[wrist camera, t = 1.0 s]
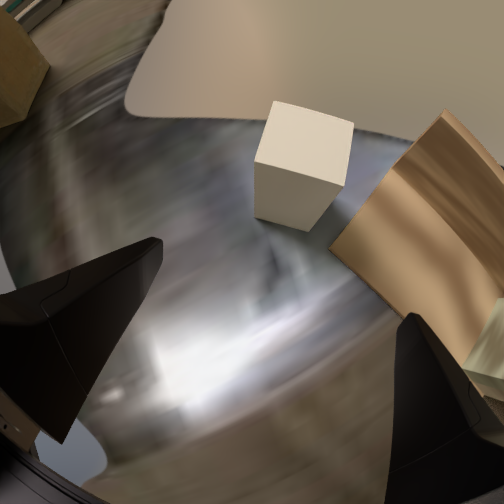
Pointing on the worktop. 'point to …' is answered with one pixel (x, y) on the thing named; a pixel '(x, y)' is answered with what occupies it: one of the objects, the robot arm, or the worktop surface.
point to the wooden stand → (439, 246)
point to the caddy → (18, 70)
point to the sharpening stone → (30, 11)
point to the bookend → (300, 165)
